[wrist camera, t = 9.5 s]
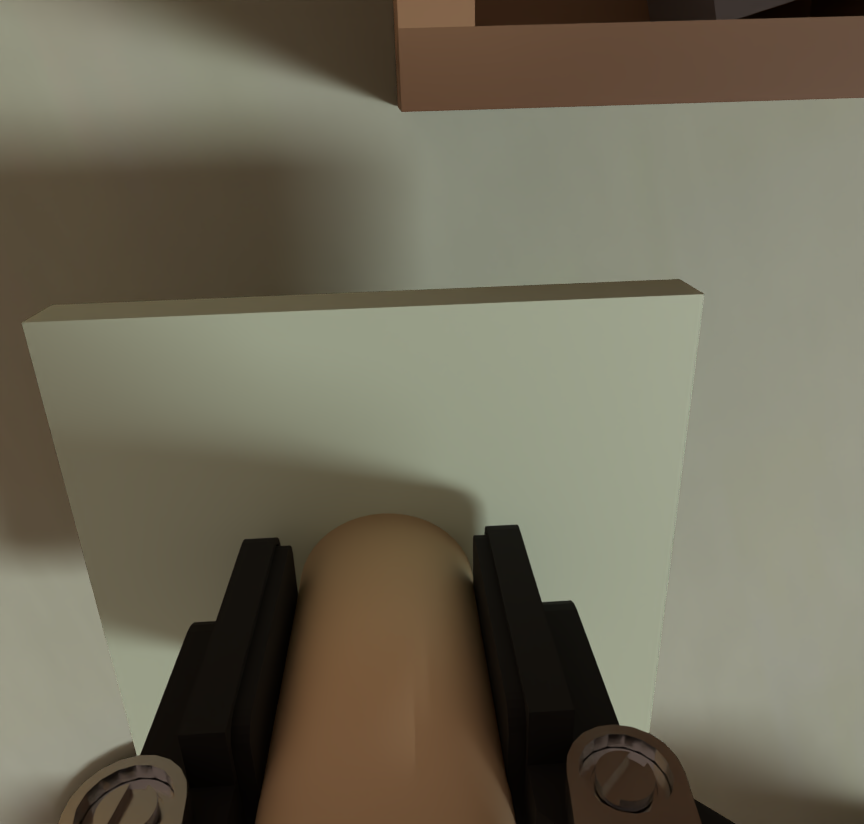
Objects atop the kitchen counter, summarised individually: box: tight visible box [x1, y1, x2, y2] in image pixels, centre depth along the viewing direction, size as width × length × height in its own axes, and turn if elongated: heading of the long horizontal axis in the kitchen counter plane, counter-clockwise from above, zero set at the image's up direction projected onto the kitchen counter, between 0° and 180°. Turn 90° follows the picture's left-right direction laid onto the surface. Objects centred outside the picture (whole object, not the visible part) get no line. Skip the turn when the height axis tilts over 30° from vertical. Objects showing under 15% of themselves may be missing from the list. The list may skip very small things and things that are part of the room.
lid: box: [22, 279, 704, 824], centre depth 11 cm, size 10×10×8 cm
